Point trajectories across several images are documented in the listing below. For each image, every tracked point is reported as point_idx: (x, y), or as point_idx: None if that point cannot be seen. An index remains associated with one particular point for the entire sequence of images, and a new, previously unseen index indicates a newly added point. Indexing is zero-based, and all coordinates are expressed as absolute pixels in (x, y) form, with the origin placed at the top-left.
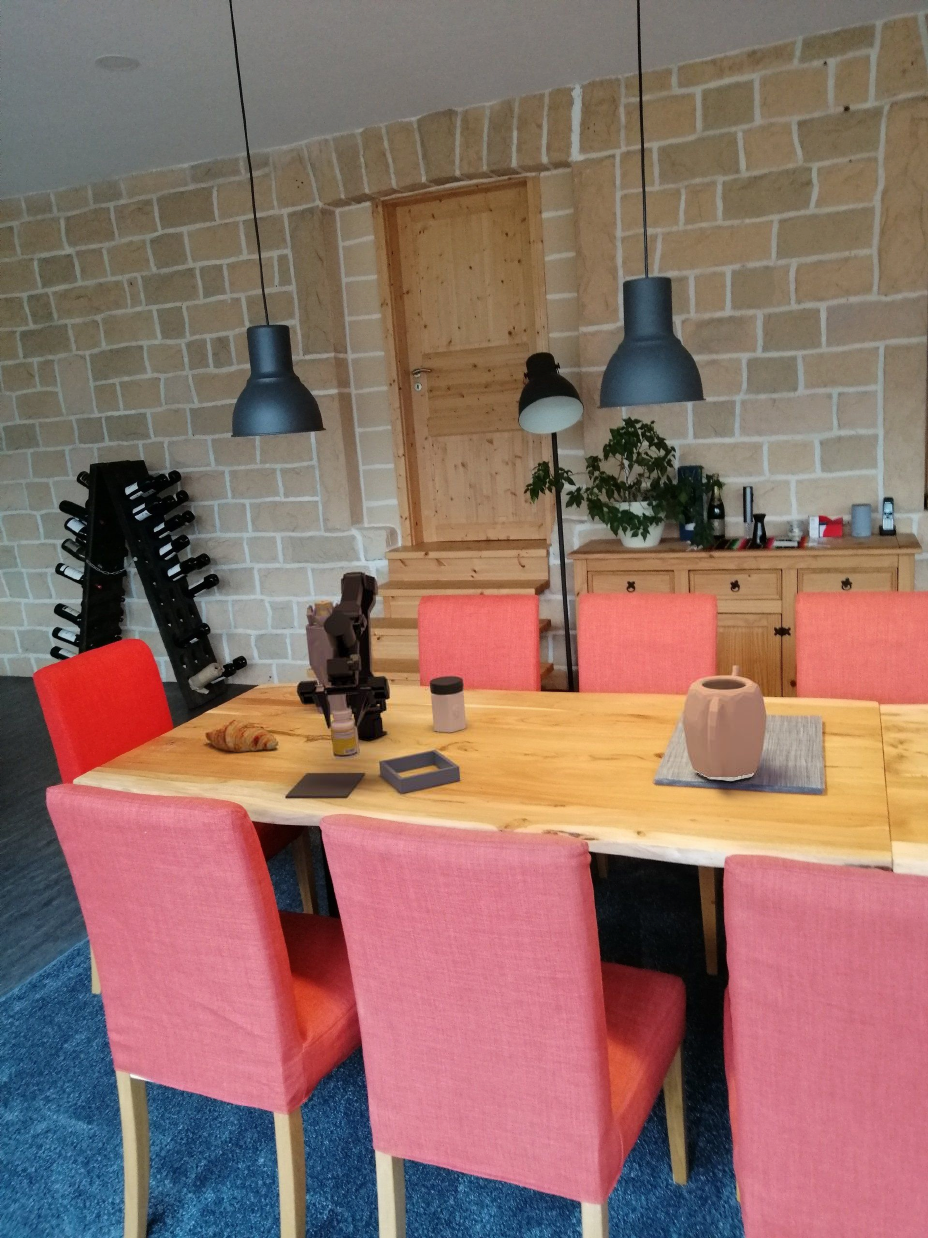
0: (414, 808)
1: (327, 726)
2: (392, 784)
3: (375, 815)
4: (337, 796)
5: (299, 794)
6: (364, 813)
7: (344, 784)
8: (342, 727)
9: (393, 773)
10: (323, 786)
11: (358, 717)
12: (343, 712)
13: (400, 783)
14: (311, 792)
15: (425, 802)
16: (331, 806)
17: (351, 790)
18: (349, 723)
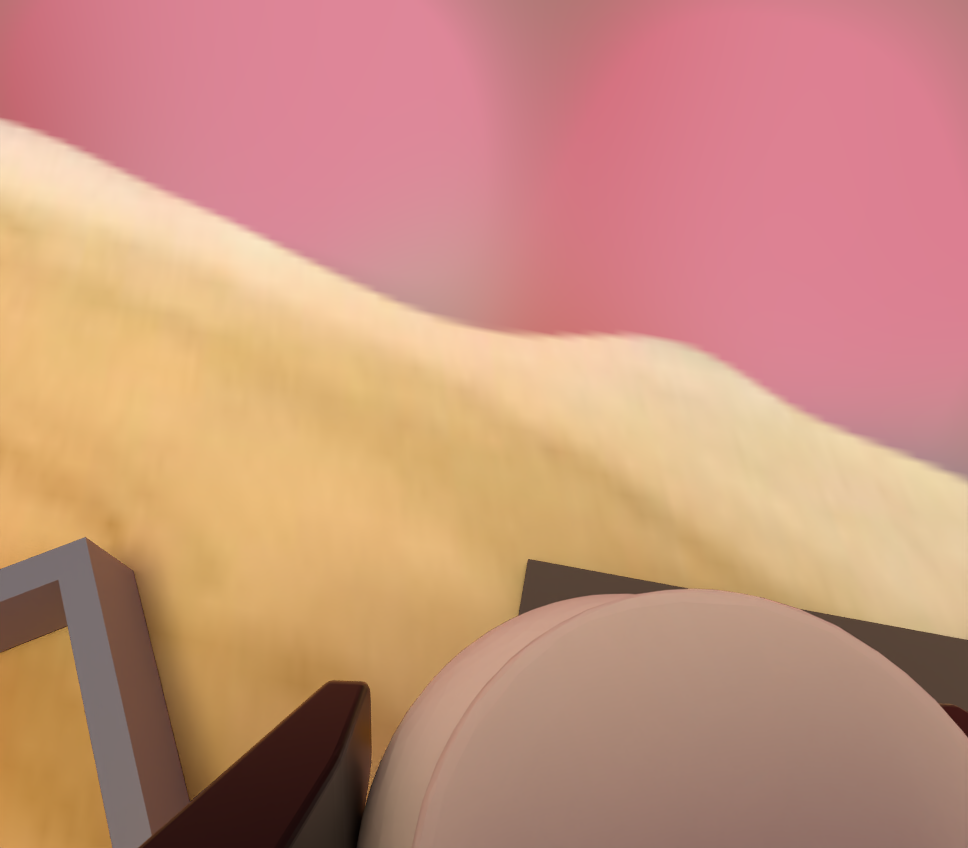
0: (88, 326)
1: (942, 706)
2: (173, 756)
3: (323, 273)
4: (599, 575)
5: (914, 655)
6: (388, 308)
7: None
8: (609, 594)
9: (117, 704)
10: None
11: (252, 757)
12: (625, 642)
13: (98, 549)
14: None
15: (3, 399)
16: (612, 442)
17: None
18: (478, 664)
